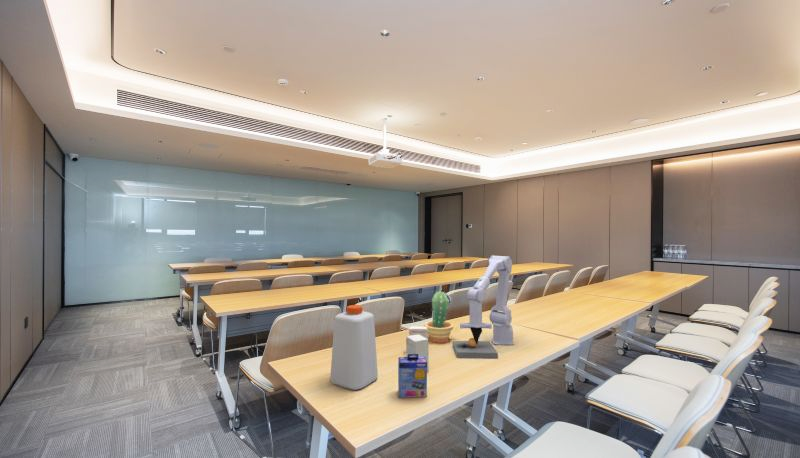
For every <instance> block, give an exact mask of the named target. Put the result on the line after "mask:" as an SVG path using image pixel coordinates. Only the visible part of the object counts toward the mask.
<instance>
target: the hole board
mask: <svg viewBox="0 0 800 458" xmlns="http://www.w3.org/2000/svg"><path fill="white" fill-rule="evenodd" d="M452 348H453V351H454V353H455V357H456V359H498V357H499V354H498V353H499V352H498V351H497V349H496V348H495V347H494V345H493V344H492V343H491V341H489V340H478V344H476V346H475V347H471V346H469V344H468V340H452Z"/></svg>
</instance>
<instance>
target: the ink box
mask: <svg viewBox="0 0 800 458" xmlns="http://www.w3.org/2000/svg"><path fill="white" fill-rule="evenodd" d="M408 331H409V332H408V336H410V335H417V334H419V335H421V336H423V337H425V338H427V339H428V340H429V337H428V336H429V334H428V329H427V327H425V326H412V325H411V326H409V328H408Z"/></svg>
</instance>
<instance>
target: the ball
mask: <svg viewBox="0 0 800 458" xmlns="http://www.w3.org/2000/svg"><path fill="white" fill-rule="evenodd" d="M467 341H468V344H469V346H471V347H475V346H476V342H475V339H474V337H470V338H469V339H468V340H467Z"/></svg>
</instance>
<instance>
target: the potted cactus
mask: <svg viewBox="0 0 800 458" xmlns="http://www.w3.org/2000/svg"><path fill="white" fill-rule="evenodd" d="M450 305H452V298H451V296H450V294H448V293H447V292H446V293H445V291H440V290H439V291H436V292H435V293H434V294H433V296H432V298H431V308H432V320H429V321H427V322H424V324H423V327H427V329H428V336H429V337H430V339H429V340H430V341H431V342H433V343H439V344H441V343H442V344H443V343H447V342H448V338H449V336H450V334H451V332H452V330H454V329H453V328H454V324H453V323H452V322H451V321H450V322H449V321H446V318H447V317H446V316H447V313H448V311H449V307H450Z"/></svg>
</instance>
